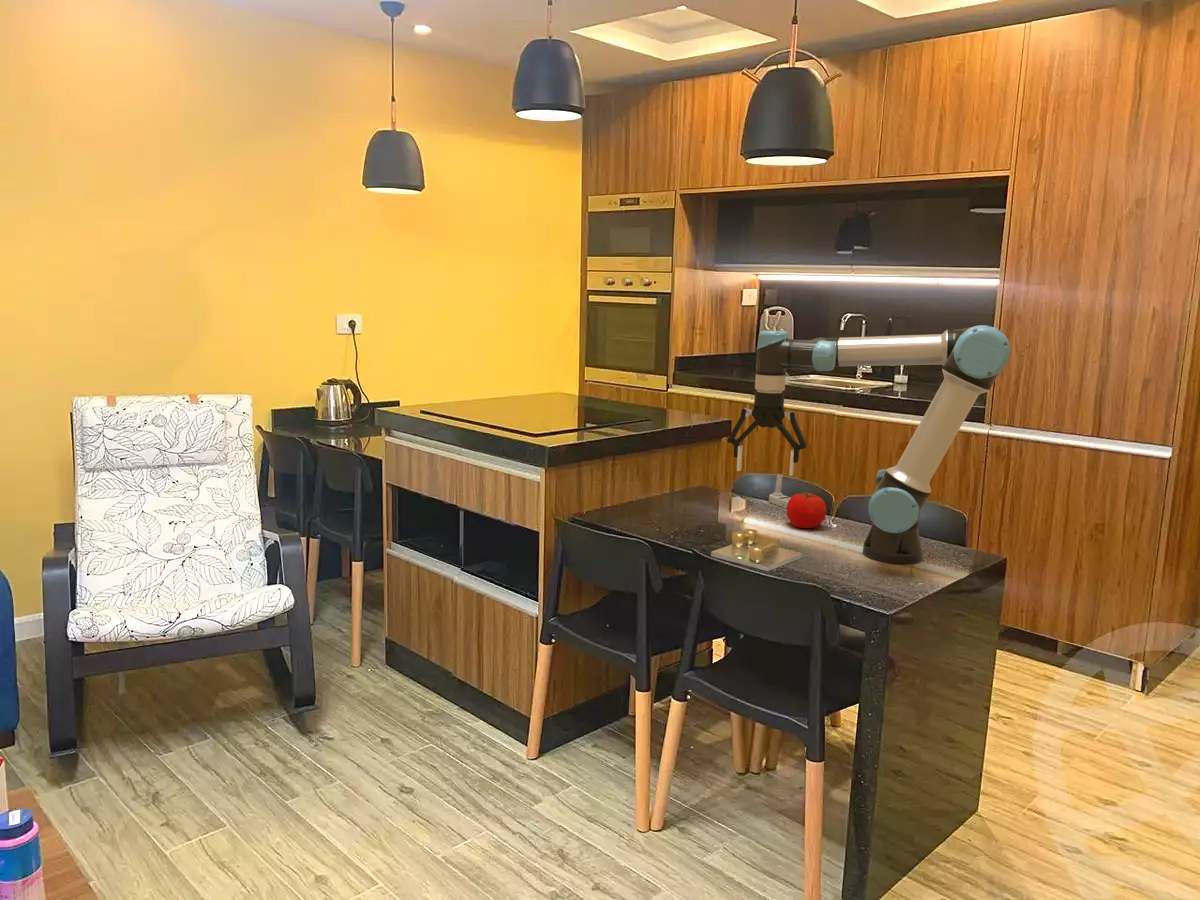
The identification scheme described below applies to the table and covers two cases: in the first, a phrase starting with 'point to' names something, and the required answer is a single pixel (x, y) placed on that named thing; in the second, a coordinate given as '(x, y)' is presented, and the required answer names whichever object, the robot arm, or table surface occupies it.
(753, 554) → the gold piece
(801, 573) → the table surface
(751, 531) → the gold block
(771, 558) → the plate
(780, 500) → the grey post stand
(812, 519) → the tomato
